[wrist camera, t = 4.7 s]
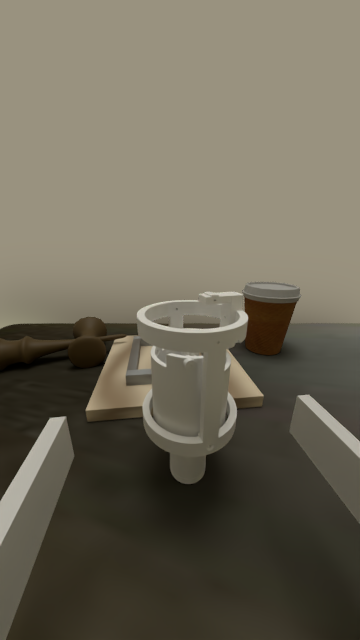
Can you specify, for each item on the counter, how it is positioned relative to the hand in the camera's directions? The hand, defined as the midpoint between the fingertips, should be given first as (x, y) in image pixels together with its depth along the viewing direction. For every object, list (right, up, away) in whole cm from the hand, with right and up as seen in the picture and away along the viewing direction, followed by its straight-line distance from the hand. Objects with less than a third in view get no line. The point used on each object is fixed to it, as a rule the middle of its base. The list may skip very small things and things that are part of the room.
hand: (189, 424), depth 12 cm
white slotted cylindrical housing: (0, -7, +6) cm, 9 cm away
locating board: (-2, -2, +21) cm, 21 cm away
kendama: (-20, -1, +24) cm, 31 cm away
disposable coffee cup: (+15, 0, +28) cm, 32 cm away
